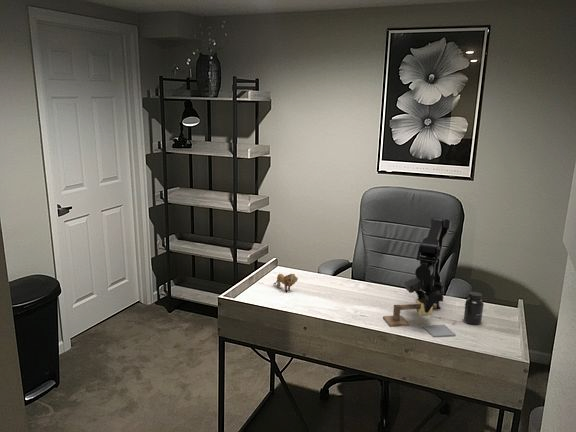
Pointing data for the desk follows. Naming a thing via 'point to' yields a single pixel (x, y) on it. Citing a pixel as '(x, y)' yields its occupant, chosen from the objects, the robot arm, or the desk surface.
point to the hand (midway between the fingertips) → (423, 310)
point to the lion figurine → (286, 280)
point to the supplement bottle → (473, 309)
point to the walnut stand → (399, 319)
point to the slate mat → (439, 330)
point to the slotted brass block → (423, 308)
